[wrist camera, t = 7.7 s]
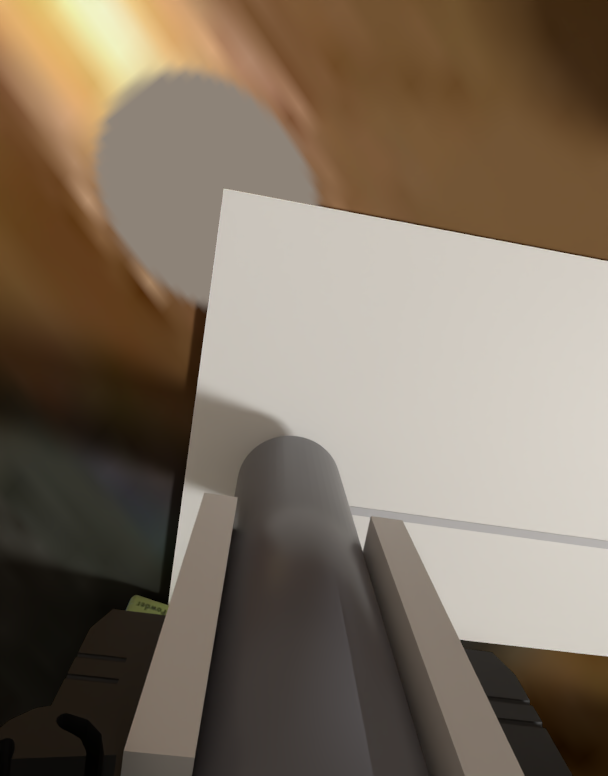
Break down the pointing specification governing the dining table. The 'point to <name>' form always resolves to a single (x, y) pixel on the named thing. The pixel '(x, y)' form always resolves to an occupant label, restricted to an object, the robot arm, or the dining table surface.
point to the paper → (422, 402)
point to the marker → (301, 635)
